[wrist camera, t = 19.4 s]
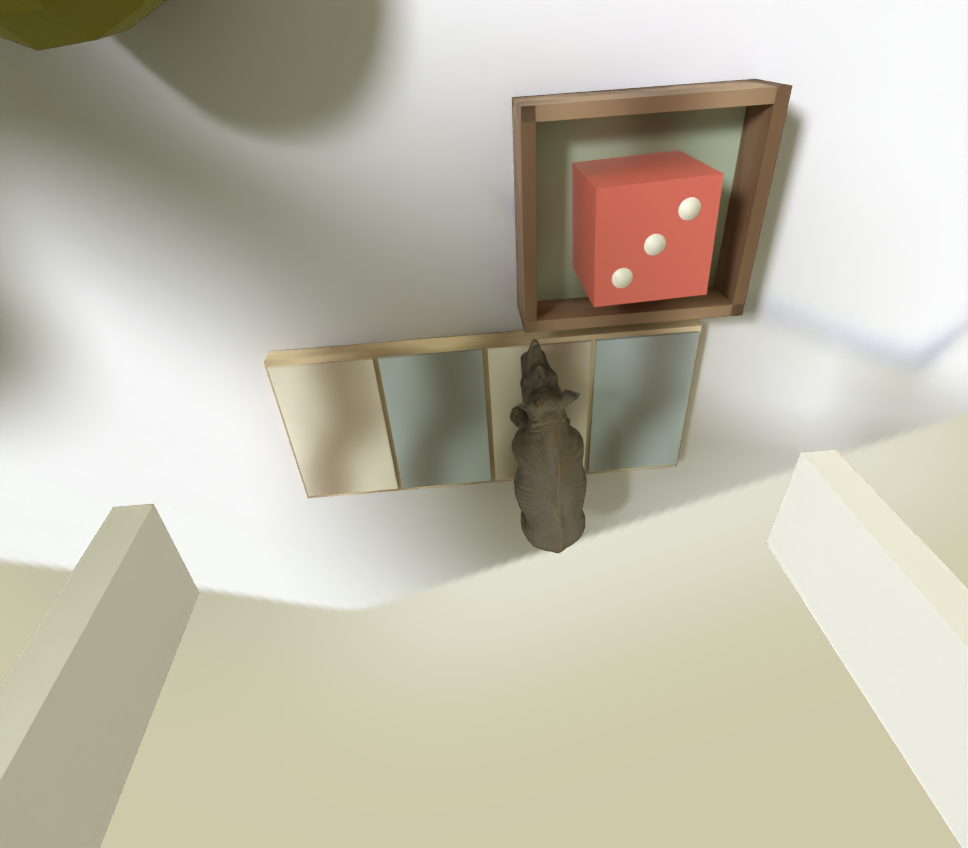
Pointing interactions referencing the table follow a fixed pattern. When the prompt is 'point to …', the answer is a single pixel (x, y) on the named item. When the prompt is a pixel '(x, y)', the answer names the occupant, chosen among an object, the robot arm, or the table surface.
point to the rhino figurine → (547, 458)
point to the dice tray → (627, 132)
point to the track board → (478, 404)
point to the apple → (68, 20)
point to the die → (644, 226)
